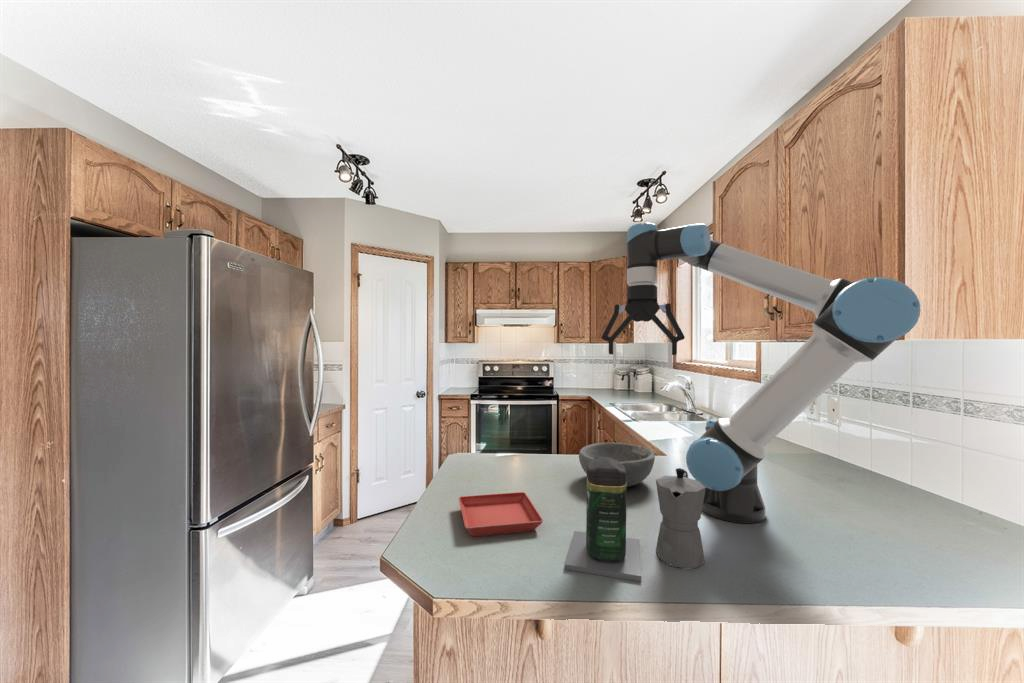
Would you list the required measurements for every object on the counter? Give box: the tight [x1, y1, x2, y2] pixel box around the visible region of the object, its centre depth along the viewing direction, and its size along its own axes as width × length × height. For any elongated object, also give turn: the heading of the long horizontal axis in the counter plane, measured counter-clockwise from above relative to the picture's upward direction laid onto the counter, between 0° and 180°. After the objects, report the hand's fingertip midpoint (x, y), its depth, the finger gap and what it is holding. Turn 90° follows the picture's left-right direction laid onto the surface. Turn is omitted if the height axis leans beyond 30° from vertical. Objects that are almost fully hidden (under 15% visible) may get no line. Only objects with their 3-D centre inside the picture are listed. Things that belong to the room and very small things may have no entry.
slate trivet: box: [564, 530, 642, 582], centre depth 83 cm, size 14×14×1 cm
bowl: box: [578, 442, 656, 488], centre depth 125 cm, size 23×22×10 cm
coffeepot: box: [655, 467, 706, 569], centre depth 83 cm, size 15×9×18 cm, turn 151°
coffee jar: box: [585, 457, 627, 562], centre depth 83 cm, size 10×8×19 cm
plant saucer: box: [458, 491, 544, 537], centre depth 99 cm, size 18×18×3 cm
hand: (641, 367), depth 105 cm, fingers open, 13 cm apart
